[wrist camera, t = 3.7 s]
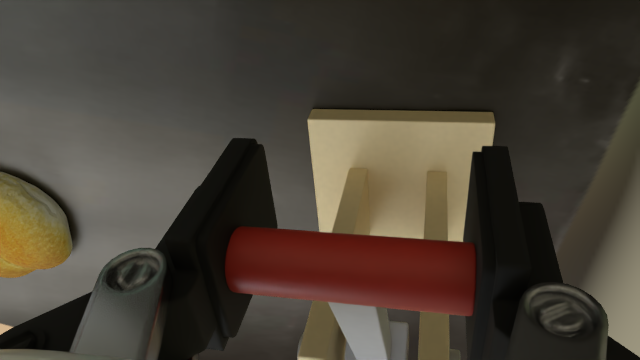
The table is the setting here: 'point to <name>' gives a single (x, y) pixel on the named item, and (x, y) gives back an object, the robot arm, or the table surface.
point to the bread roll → (30, 229)
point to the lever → (356, 279)
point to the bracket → (391, 195)
